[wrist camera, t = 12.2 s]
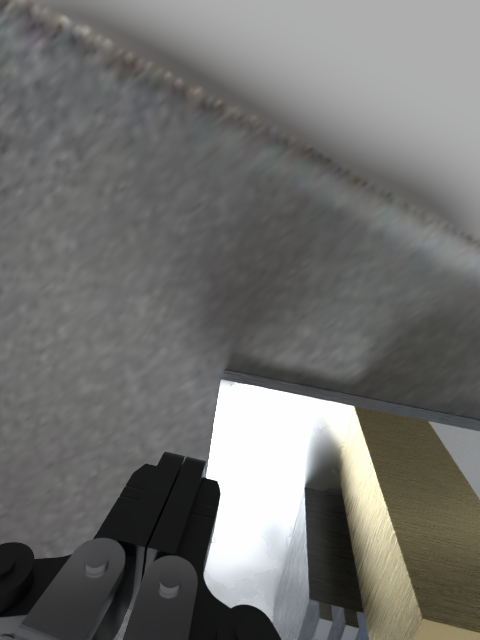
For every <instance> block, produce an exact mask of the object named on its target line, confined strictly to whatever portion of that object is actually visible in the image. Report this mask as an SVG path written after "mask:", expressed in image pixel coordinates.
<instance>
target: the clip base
mask: <svg viewBox="0 0 480 640" xmlns="http://www.w3.org/2000/svg"><path fill="white" fill-rule="evenodd" d="M354 406H355V407H360V408H365V409H370V410H375V411H380V412H385V413H390V414H395V415H400V416H405V417H410V418H415V419H420V420H425V421H429V423H430V424H431V426H432V427H433V429H434V431H435V432H436V434H437V435H438V437H439V438H440V440H441V441H442V443H443V444H444V446H445V447H446V449H447V450H448V452H449V453H450V455H451V456H452V458H453V459H454V461H455V463H456V464H457V466H458V467H459V469H460V470H461V472H462V473H463V475H464V476H465V478H466V479H467V481H468V482H469V484H470V485H471V487H472V488H473V490H474V491H475V493H476V495H477V496H478V498H479V499H480V420H476V419H471V418H466V417H460V416H455V415H450V414H445V413H440V412H435V411H430V410H425V409H420V408H415V407H410V406H405V405H400V404H395V403H390V402H385V401H380V400H375V399H370V398H365V397H360V396H355V395H350V394H345V393H340V392H335V391H330V390H325V389H319V388H314V387H309V386H304V385H299V384H294V383H289V382H284V381H279V380H274V379H269V378H264V377H259V376H254V375H249V374H244V373H239V372H234V371H229V370H225V371H224V373H223V376H222V378H221V382H220V389H219V396H218V402H217V409H216V416H215V423H214V429H213V436H212V443H211V450H210V457H209V463H208V470H207V477H206V478H208V479H212V480H217V481H218V483H219V487H220V491H221V498H220V503H219V508H218V514H217V519H216V524H215V529H214V533H213V538H212V542H211V546H210V550H209V554H208V558H207V563H206V567H205V571H204V579H205V583H206V585H207V587H208V589H209V590H210V592H211V593H212V594H213V595H214V596H215V597H216V598H217V599H218V600H220V601H221V602H222V603H224V604H225V605H227V606H228V607H230V608H232V607H234V606H237V605H241V604H247V605H252V606H254V607H257V608H258V609H260V610H261V611H263V612H264V613H265V614H266V615H267V616H268V617H269V619H270V620H271V622H272V623H273V625H274V627H275V629H276V630H277V632H278V634H279V636H280V638H281V639H282V640H369V637H368V632H367V626H366V621H365V615H364V610H363V604H362V599H361V593H360V588H359V582H358V577H357V571H356V565H355V560H354V554H353V549H352V543H351V538H350V532H349V527H348V521H347V516H346V510H345V505H344V499H343V494H342V488H341V483H340V477H339V472H338V466H337V465H338V462H339V458H340V455H341V451H342V447H343V444H344V440H345V437H346V433H347V430H348V426H349V423H350V419H351V415H352V412H353V408H354Z"/></svg>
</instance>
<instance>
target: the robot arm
mask: <svg viewBox="0 0 480 640" xmlns="http://www.w3.org/2000/svg"><path fill="white" fill-rule="evenodd" d="M206 468H207V461H203V460H199V459H194V458H190V457H185V456H181V455H177V454H173V453H169V452H164V454H163V456H162V457H161V459H160V461H159V463H158V465H157V466H153V465H149V464H145V465H143V466H142V467H141V468H139V469H138V470H137V471H135V472H134V473H133V474H132V476H131V478H130V479H129V481H128V483H127V484H126V487H125V488H124V489H123V491H122V493H121V494H120V497H119V498H118V499H117V501H116V503H115V504H114V506H113V508H112V509H111V511H110V512H109V514H108V516H107V517H106V519H105V521H104V522H103V524H102V526H101V527H100V529H99V531H98V532H97V534H96V536H95V537H94V538H93V539H92V540H90V541H87V542H85V543H84V544H82V545H81V546H79V547H78V548H77V549H76V550H75V551H74V552H73V554H71V555H68V556H64V557H58V558H44V559H34V554H33V552H32V550H31V549H30V548H29V547H28V546H27V545H25V544H22V543H16V542H12V543H5V544H1V545H0V640H117V637H118V631H119V629H120V627H121V624H122V622H123V619H124V617H125V614H126V612H127V609H130V610H132V612H131V615H130V618H129V622H128V625H127V628H126V631H125V634H124V637H123V640H282V639H281V638H280V636H279V634H278V632H277V630H276V629H275V627H274V625H273V623H272V622H271V620H270V619H269V617H268V616H267V615H266V614H265V613H264V612H263V611H261V610H260V609H258V608H257V607H254V606H252V605H247V604H241V605H237V606H234V607H232V608H230V607H228V606H227V605H225V604H224V603H222V602H221V601H220V600H218V599H217V598H216V597H215V596H214V595H213V594H212V593H211V592H210V590H209V589H208V587H207V585H206V583H205V579H204V571H205V567H206V563H207V558H208V554H209V550H210V546H211V542H212V538H213V533H214V529H215V524H216V519H217V514H218V508H219V503H220V498H221V491H220V487H219V483H218V481H217V480H212V479H208V478H205V474H206Z"/></svg>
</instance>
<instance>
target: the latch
mask: <svg viewBox="0 0 480 640" xmlns="http://www.w3.org/2000/svg"><path fill="white" fill-rule="evenodd" d="M337 466H338V472H339V477H340V483H341V488H342V494H343V499H344V505H345V510H346V516H347V521H348V527H349V532H350V538H351V543H352V549H353V554H354V560H355V565H356V571H357V577H358V582H359V588H360V593H361V599H362V604H363V610H364V615H365V621H366V626H367V632H368V637H369V640H480V499H479V498H478V496H477V495H476V493H475V491H474V490H473V488H472V487H471V485H470V484H469V482H468V481H467V479H466V478H465V476H464V475H463V473H462V472H461V470H460V469H459V467H458V466H457V464H456V463H455V461H454V459H453V458H452V456H451V455H450V453H449V452H448V450H447V449H446V447H445V446H444V444H443V443H442V441H441V440H440V438H439V437H438V435H437V434H436V432H435V431H434V429H433V427H432V426H431V424H430V423H429V421H425V420H420V419H415V418H410V417H405V416H400V415H395V414H390V413H385V412H380V411H375V410H370V409H365V408H360V407H355V406H354V408H353V412H352V415H351V419H350V423H349V426H348V430H347V433H346V437H345V440H344V444H343V447H342V451H341V455H340V458H339V462H338V465H337Z"/></svg>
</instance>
